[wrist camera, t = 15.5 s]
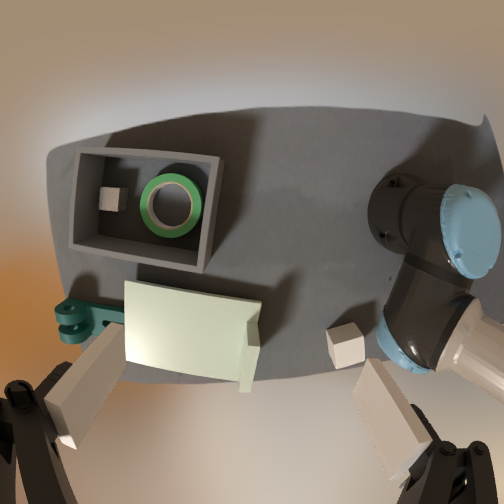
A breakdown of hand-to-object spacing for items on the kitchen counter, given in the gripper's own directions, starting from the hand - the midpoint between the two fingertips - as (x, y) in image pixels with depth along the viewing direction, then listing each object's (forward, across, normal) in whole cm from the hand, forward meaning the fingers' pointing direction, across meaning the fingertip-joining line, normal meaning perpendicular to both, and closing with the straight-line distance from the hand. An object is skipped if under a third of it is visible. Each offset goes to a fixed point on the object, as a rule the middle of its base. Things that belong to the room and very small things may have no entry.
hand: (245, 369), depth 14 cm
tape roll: (+37, +14, -4) cm, 40 cm away
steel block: (+37, +25, -4) cm, 45 cm away
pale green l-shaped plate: (+36, +9, +19) cm, 42 cm away
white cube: (+37, -22, +17) cm, 46 cm away
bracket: (+37, +28, +22) cm, 51 cm away
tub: (+37, +18, -4) cm, 41 cm away
